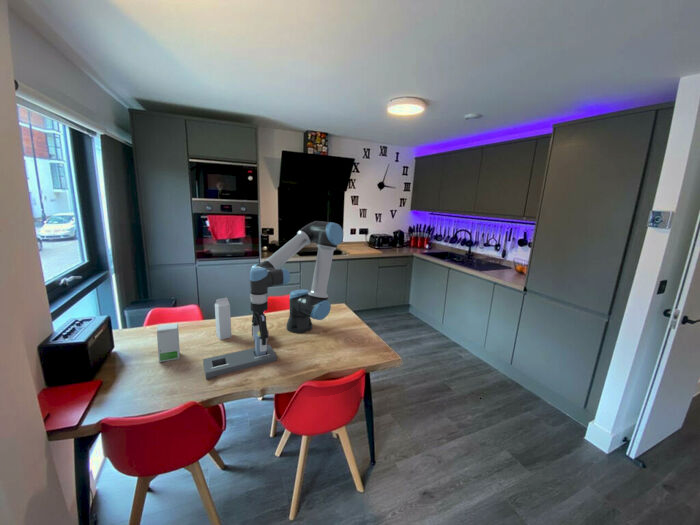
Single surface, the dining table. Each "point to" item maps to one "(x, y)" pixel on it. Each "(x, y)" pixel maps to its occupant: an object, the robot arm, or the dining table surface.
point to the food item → (259, 331)
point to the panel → (236, 361)
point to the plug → (258, 345)
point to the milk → (223, 318)
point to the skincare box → (168, 342)
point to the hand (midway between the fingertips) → (259, 344)
